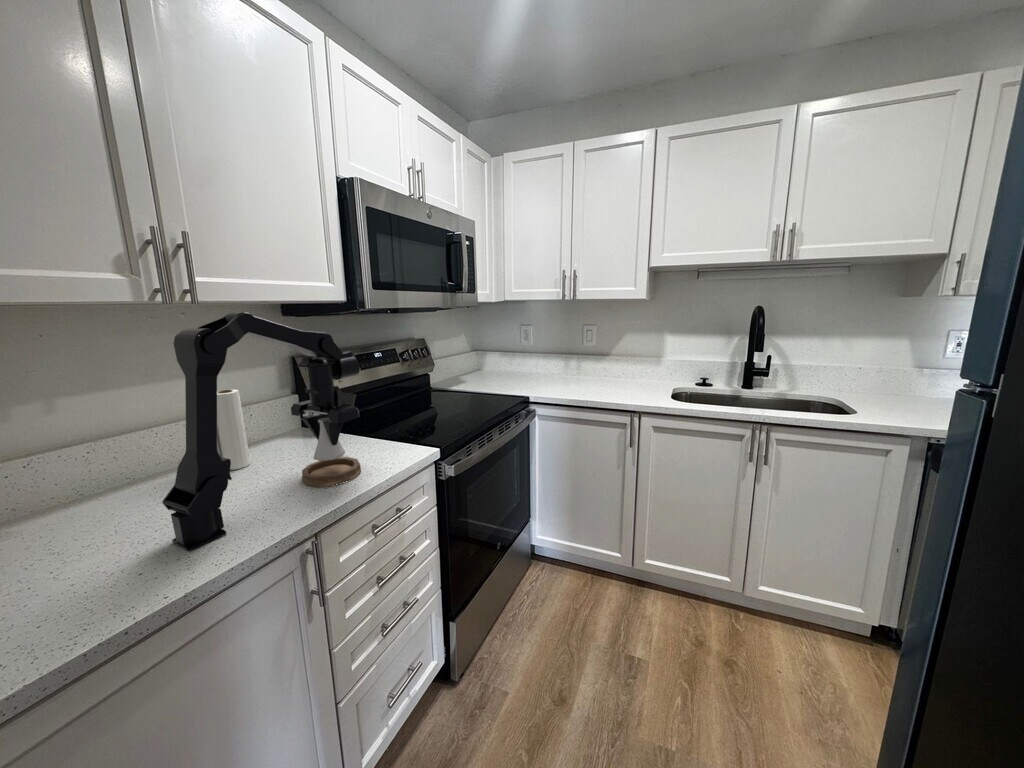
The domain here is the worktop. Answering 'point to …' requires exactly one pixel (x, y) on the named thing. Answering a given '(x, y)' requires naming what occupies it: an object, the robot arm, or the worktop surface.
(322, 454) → the flask
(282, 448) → the worktop surface
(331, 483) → the walnut collar
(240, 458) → the paper towel roll
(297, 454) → the worktop surface
